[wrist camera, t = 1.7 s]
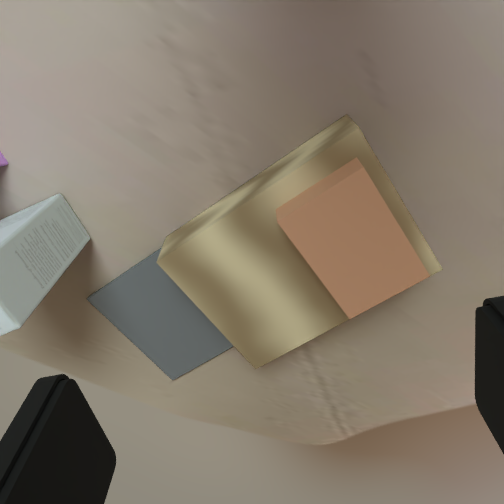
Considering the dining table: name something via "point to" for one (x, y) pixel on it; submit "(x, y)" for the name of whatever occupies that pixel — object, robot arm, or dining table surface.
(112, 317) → the mat
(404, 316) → the dining table surface
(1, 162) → the purple flanged fixture
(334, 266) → the tile
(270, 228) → the board
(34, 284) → the skincare box
